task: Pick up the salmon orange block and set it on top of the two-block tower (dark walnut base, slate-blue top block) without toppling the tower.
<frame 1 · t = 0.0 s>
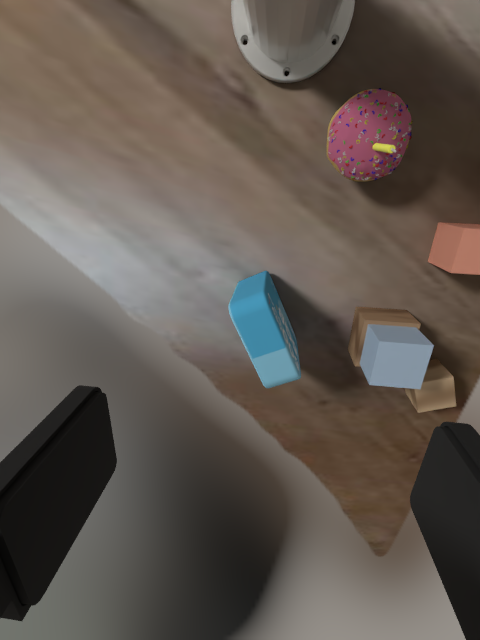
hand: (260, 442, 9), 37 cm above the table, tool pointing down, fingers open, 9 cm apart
data package: (268, 309, 47), on the table
tower top: (386, 346, 42), point 5 cm above the table, touching tower base
tower base: (375, 330, 46), on the table, touching tower top
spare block: (420, 375, 48), on the table
salmon orange block: (453, 243, 40), on the table
cupcake: (357, 143, 37), on the table
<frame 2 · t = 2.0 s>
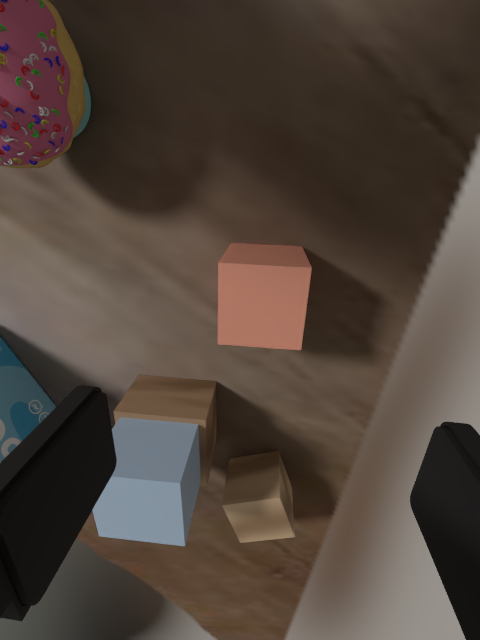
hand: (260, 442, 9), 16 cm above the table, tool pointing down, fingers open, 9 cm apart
data package: (12, 375, 30), on the table
tower top: (161, 450, 25), point 5 cm above the table, touching tower base
tower base: (179, 408, 29), on the table, touching tower top
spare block: (260, 472, 31), on the table
salmon orange block: (264, 278, 23), on the table
cupcake: (55, 97, 20), on the table
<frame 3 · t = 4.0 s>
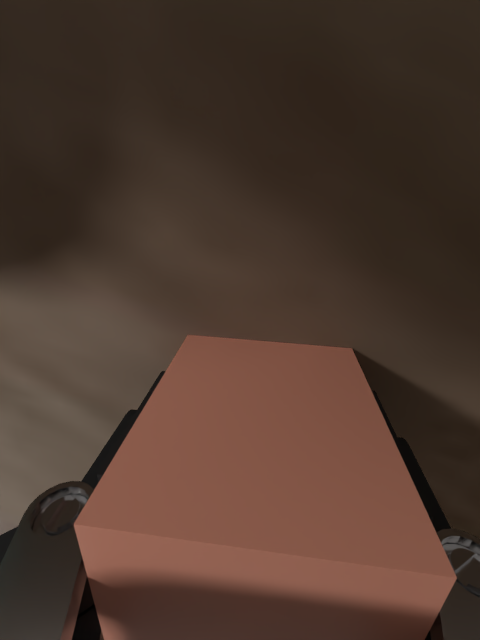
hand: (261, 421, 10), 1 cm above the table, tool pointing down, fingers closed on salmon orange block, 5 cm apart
salmon orange block: (262, 407, 11), on the table, touching gripper
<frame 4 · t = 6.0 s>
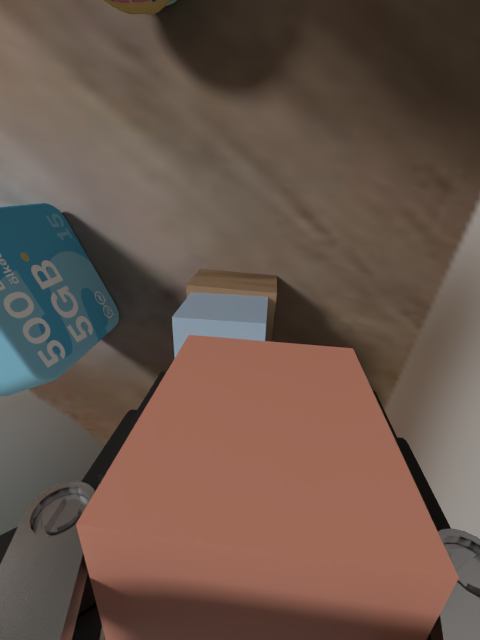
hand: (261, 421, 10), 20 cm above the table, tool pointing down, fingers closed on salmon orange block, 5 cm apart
data package: (75, 271, 30), on the table
tower top: (228, 329, 25), point 5 cm above the table, touching tower base
tower base: (236, 307, 30), on the table, touching tower top
salmon orange block: (263, 407, 11), point 19 cm above the table, touching gripper
when the fingers open (11 cm above the table, at t = 8.2 s): salmon orange block stays where it is, point 10 cm above the table.
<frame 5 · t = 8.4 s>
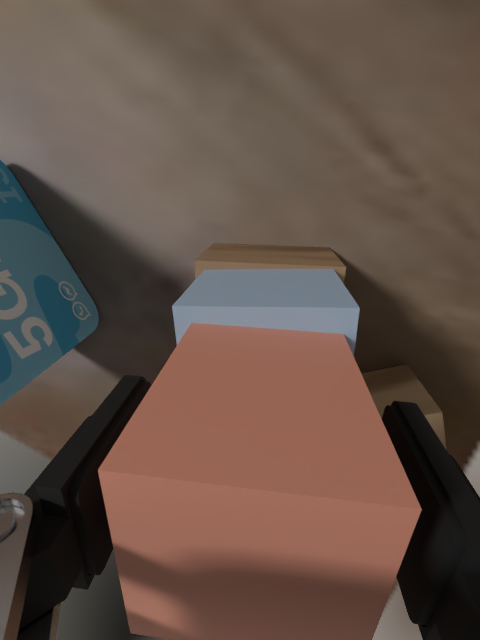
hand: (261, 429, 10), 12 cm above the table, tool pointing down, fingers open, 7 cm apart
data package: (34, 255, 21), on the table
tower top: (267, 327, 16), point 5 cm above the table, touching tower base
tower base: (267, 299, 20), on the table, touching tower top
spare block: (374, 400, 23), on the table
salmon orange block: (261, 391, 11), point 10 cm above the table
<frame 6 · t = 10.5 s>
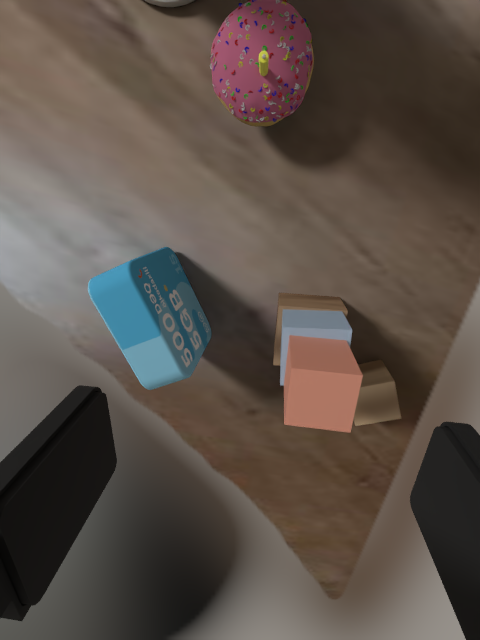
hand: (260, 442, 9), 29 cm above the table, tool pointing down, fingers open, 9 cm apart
data package: (178, 296, 39), on the table
tower top: (309, 337, 33), point 5 cm above the table, touching salmon orange block, tower base
tower base: (305, 322, 38), on the table, touching tower top
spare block: (363, 380, 40), on the table
salmon orange block: (313, 362, 29), point 10 cm above the table, touching tower top
cupcake: (264, 85, 30), on the table
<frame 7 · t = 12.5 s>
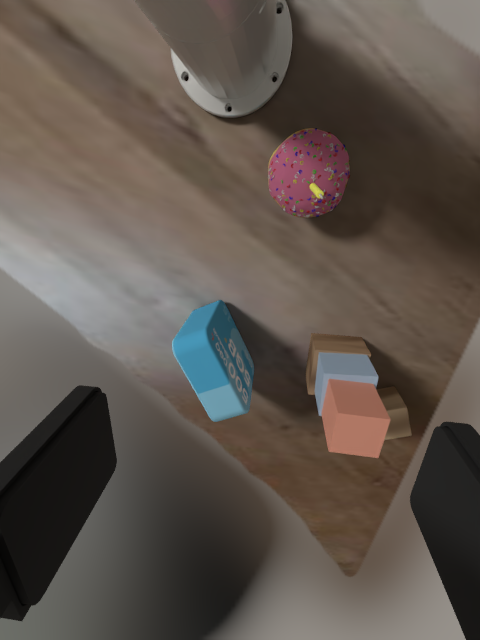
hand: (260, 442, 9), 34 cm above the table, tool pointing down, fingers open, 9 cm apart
data package: (226, 336, 47), on the table
tower top: (339, 373, 41), point 5 cm above the table, touching salmon orange block, tower base
tower base: (332, 356, 46), on the table, touching tower top
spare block: (379, 402, 48), on the table
salmon orange block: (346, 398, 37), point 10 cm above the table, touching tower top
cupcake: (304, 176, 37), on the table
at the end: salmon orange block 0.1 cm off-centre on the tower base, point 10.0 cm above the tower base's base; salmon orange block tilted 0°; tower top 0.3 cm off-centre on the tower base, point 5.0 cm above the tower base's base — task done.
